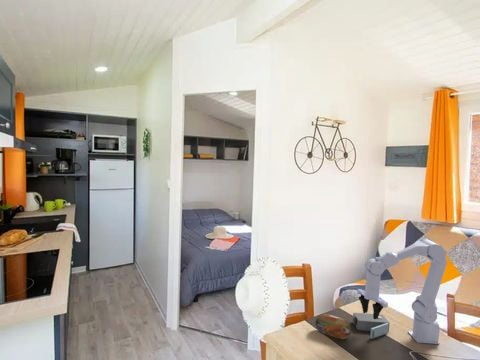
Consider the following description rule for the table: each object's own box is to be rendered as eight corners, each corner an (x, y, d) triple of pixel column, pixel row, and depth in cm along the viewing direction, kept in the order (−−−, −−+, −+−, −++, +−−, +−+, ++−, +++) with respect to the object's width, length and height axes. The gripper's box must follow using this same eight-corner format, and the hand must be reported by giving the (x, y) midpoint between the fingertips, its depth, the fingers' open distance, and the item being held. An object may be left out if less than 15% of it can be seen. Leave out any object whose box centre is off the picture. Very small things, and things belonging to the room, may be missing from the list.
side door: (386, 332, 133) (387, 322, 132) (389, 333, 131) (389, 324, 131) (370, 337, 127) (370, 328, 127) (372, 339, 126) (373, 330, 126)
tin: (314, 331, 131) (316, 313, 130) (316, 327, 134) (317, 310, 133) (349, 342, 124) (351, 323, 123) (350, 338, 127) (352, 319, 126)
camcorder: (381, 323, 140) (382, 313, 139) (388, 332, 133) (389, 321, 132) (350, 321, 140) (351, 311, 140) (355, 329, 133) (356, 319, 133)
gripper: (353, 281, 134) (351, 309, 135) (381, 294, 121) (378, 325, 122) (363, 279, 137) (361, 306, 138) (392, 291, 124) (389, 322, 125)
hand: (370, 315), depth 130 cm, fingers open, 5 cm apart
